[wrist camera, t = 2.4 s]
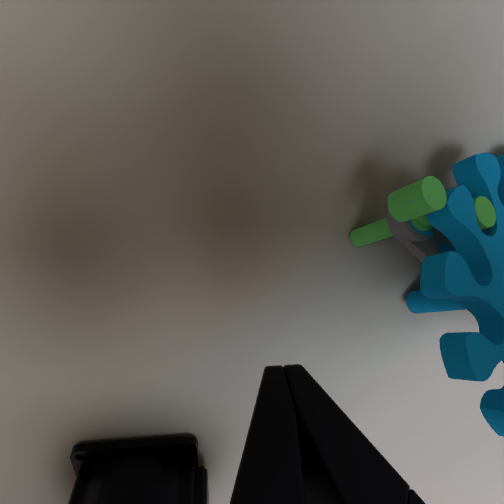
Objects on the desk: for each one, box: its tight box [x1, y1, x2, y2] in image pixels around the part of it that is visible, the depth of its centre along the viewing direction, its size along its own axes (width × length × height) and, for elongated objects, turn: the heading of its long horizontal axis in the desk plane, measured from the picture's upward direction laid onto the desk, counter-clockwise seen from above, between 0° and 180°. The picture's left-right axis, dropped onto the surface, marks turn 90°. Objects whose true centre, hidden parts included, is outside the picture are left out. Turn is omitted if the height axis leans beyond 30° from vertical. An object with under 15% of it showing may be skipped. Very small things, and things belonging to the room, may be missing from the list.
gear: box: [350, 153, 504, 436], centre depth 15 cm, size 11×6×10 cm
